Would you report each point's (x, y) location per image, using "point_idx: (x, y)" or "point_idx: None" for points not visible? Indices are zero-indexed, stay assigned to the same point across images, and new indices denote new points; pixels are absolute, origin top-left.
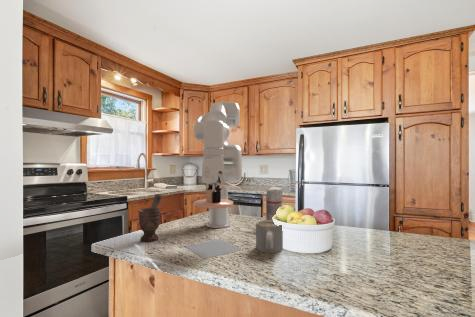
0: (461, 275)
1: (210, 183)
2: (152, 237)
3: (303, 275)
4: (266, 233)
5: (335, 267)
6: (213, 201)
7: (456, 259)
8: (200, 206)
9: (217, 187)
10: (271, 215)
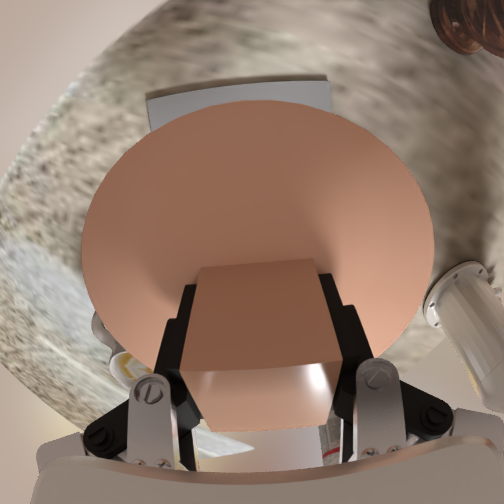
0: (44, 399)
1: (137, 468)
2: (448, 19)
3: (26, 284)
4: (106, 333)
5: (56, 342)
6: (185, 294)
7: (83, 427)
8: (149, 135)
9: (92, 427)
10: (332, 416)
